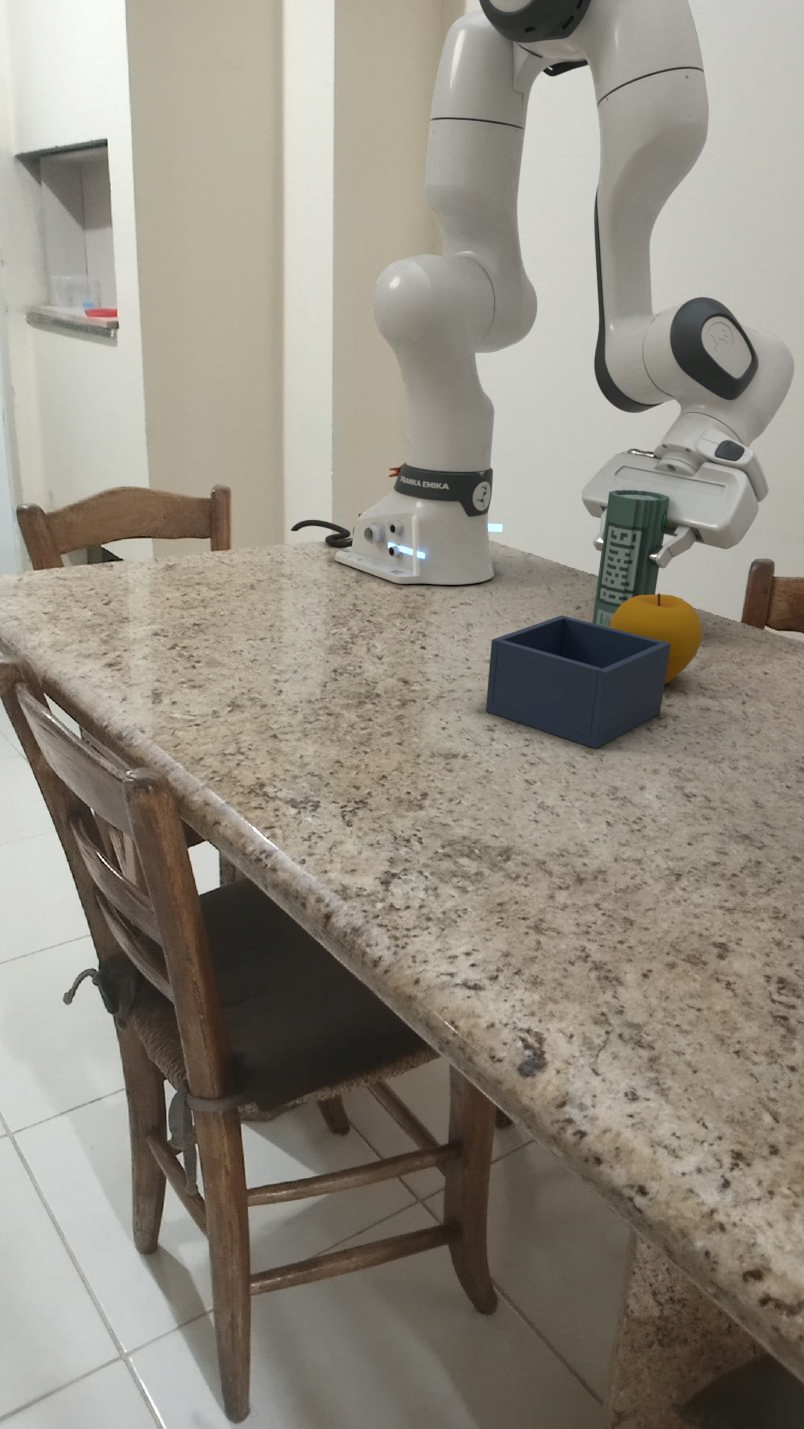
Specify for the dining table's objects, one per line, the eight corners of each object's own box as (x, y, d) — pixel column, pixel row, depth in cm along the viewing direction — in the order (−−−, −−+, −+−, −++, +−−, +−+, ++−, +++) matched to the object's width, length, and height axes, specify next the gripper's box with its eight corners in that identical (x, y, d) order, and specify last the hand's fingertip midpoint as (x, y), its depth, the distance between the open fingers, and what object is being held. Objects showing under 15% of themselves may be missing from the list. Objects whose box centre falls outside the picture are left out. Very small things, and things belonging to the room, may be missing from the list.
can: (656, 628, 116) (676, 496, 111) (634, 640, 112) (654, 502, 106) (607, 617, 120) (625, 487, 114) (584, 628, 115) (600, 494, 109)
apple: (636, 659, 107) (647, 576, 104) (712, 683, 102) (727, 596, 98) (585, 677, 102) (595, 589, 98) (663, 703, 96) (677, 611, 92)
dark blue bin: (485, 711, 92) (491, 639, 89) (554, 681, 100) (561, 615, 97) (596, 749, 85) (606, 672, 83) (660, 714, 93) (671, 643, 91)
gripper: (612, 428, 119) (545, 519, 117) (767, 454, 105) (695, 558, 103) (631, 465, 124) (567, 553, 122) (782, 494, 109) (713, 595, 107)
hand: (627, 556), depth 112 cm, fingers closed on can, 6 cm apart
